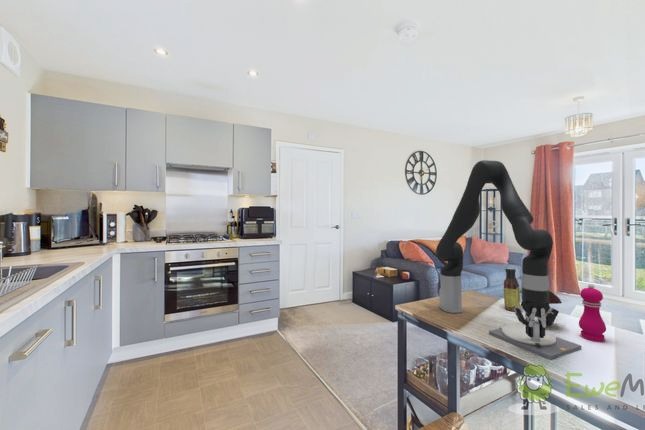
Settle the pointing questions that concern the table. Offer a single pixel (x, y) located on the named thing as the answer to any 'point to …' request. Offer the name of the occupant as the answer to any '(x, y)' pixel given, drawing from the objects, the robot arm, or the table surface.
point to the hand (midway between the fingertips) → (535, 336)
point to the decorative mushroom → (553, 300)
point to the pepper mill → (592, 315)
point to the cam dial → (519, 334)
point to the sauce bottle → (511, 290)
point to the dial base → (548, 352)
